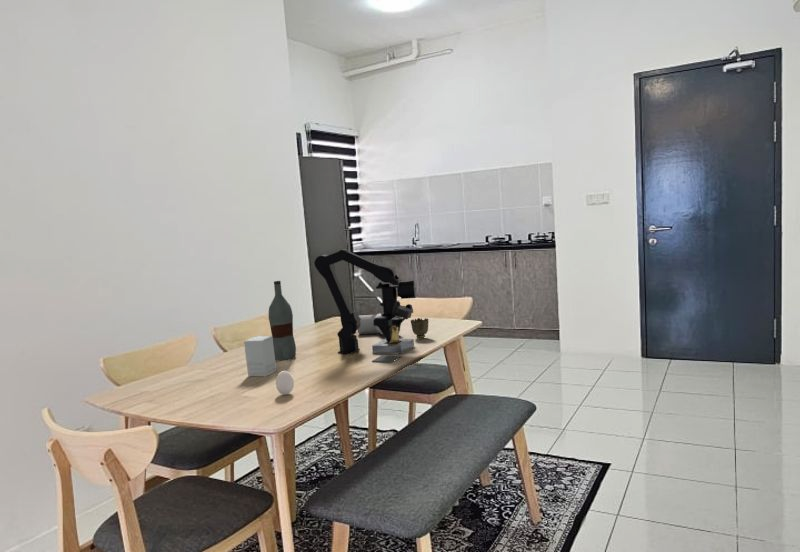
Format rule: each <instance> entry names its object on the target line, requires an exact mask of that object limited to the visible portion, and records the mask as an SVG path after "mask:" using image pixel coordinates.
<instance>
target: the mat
mask: <svg viewBox="0 0 800 552" xmlns="http://www.w3.org/2000/svg"><path fill="white" fill-rule="evenodd" d="M400 357H401V358H403V357H402V355H389V354H386V355H385V354H382V355H380V356H378V357H376V358H375V359H372V360H371V363H384V362H393V361H394V360H396V359H398V358H399V359H401V358H400ZM399 359H398V360H399ZM396 361H397V360H396ZM394 362H395V361H394ZM394 362H393V363H394Z"/></svg>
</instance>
